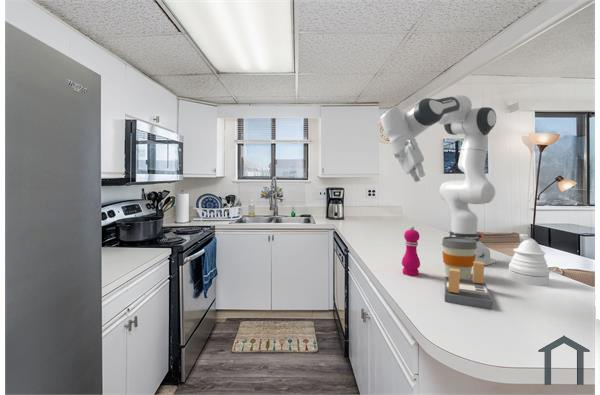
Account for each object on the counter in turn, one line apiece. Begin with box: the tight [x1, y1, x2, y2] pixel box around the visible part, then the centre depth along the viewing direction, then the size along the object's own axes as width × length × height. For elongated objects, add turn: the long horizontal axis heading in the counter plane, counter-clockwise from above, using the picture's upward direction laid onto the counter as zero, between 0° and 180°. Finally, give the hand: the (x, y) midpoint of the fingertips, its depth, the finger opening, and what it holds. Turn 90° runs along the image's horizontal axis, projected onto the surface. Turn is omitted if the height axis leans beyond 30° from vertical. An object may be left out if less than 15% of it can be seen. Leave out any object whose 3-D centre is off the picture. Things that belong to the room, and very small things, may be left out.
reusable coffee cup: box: [441, 236, 477, 280], centre depth 125 cm, size 13×13×15 cm
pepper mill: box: [401, 225, 421, 277], centre depth 126 cm, size 7×7×20 cm
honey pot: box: [507, 233, 550, 287], centre depth 120 cm, size 13×13×18 cm
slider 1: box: [448, 268, 460, 293], centre depth 99 cm, size 3×3×7 cm
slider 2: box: [472, 261, 485, 284], centre depth 109 cm, size 3×3×7 cm
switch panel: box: [444, 275, 494, 310], centre depth 104 cm, size 13×20×3 cm, turn 155°
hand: (420, 179), depth 114 cm, fingers open, 8 cm apart
